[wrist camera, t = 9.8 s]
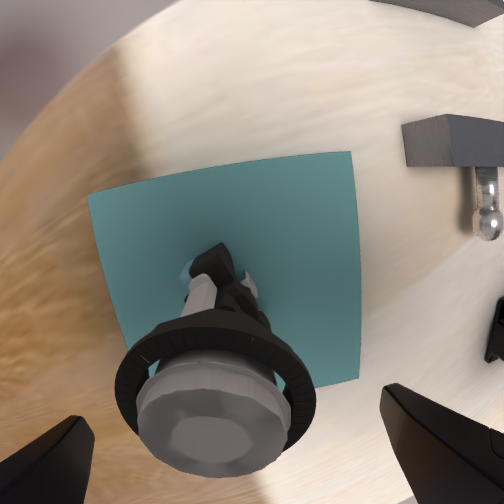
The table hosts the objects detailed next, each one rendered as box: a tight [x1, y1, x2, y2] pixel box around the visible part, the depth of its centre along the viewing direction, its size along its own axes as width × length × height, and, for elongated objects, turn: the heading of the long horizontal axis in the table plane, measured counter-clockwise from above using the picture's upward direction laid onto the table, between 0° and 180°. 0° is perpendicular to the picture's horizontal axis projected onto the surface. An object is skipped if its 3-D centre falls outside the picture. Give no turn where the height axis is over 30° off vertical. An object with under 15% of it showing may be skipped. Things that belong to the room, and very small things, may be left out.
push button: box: [115, 242, 316, 478], centre depth 11 cm, size 7×5×10 cm
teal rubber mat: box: [87, 151, 361, 393], centre depth 16 cm, size 14×14×1 cm
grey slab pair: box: [372, 0, 504, 241], centre depth 12 cm, size 10×19×4 cm, turn 8°
